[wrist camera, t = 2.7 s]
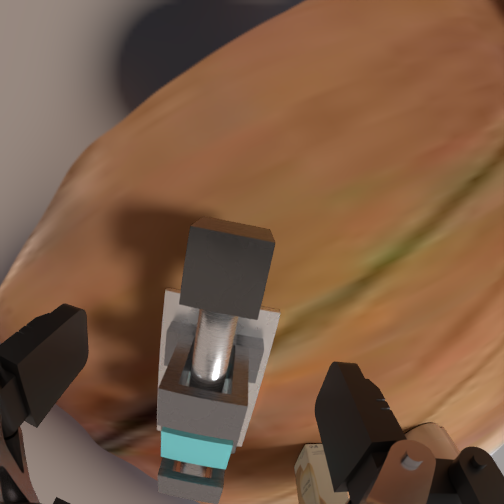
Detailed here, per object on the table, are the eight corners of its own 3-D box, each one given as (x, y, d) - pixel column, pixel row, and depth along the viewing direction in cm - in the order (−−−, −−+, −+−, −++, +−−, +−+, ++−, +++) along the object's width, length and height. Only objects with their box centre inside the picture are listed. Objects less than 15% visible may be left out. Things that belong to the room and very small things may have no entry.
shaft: (203, 216, 22) (190, 225, 17) (270, 229, 22) (275, 242, 17) (174, 454, 28) (166, 485, 23) (216, 462, 28) (212, 494, 23)
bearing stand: (279, 309, 28) (294, 378, 18) (241, 442, 33) (239, 510, 22) (167, 287, 28) (125, 344, 17) (158, 426, 32) (136, 490, 22)
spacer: (235, 404, 26) (232, 445, 21) (229, 430, 27) (225, 469, 22) (174, 392, 26) (161, 431, 20) (172, 418, 27) (160, 456, 21)
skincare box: (304, 442, 33) (317, 516, 21) (334, 442, 33) (354, 512, 21) (292, 468, 34) (301, 534, 23) (320, 467, 35) (334, 532, 23)
